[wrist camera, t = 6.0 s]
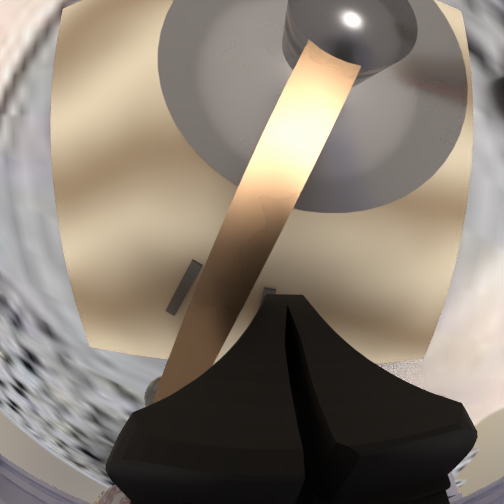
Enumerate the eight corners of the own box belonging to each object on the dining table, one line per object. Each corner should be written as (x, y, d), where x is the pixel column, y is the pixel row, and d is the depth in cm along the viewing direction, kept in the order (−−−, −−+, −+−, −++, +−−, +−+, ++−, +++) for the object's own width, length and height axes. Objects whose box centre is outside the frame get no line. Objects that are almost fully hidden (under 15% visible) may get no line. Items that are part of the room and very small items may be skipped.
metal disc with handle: (245, -67, 6) (234, -138, 2) (466, 42, 8) (540, 20, 3) (91, 303, 13) (35, 367, 8) (286, 384, 14) (290, 467, 9)
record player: (414, 343, 15) (424, 360, 14) (100, 332, 16) (88, 348, 15) (446, 18, 8) (463, 10, 7) (78, 16, 9) (61, 7, 8)
